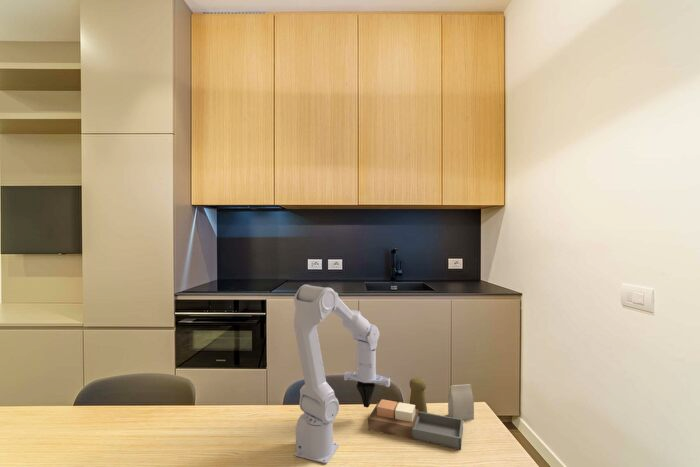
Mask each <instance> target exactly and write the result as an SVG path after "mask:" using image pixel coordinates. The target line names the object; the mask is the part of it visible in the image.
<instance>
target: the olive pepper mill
mask: <svg viewBox="0 0 700 467" xmlns="http://www.w3.org/2000/svg"><path fill="white" fill-rule="evenodd" d="M409 388H410V397H409V404H412V405H415V409H418V410H419V411H420V412H425V413H428V407H427V399H426V393H425V391H426V388H427V382H426V381H425V379H424V378H421V377H416V376H415V377H411V379H410V380H409Z"/></svg>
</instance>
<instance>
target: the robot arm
mask: <svg viewBox="0 0 700 467" xmlns="http://www.w3.org/2000/svg"><path fill="white" fill-rule="evenodd" d="M293 300H294V306H295V311H294V319H293V326H294V332H295V338H296V343H297V349H298V354H299V359H300V365H301V369H302V376H303V381H304V384H303V385H302V386H301V388H300V390H299V395H300V398H299V408H300V410H301V411H302V412H303V413H302V414H300V415H299V417H298V419H297V422H296V426H295V452H294V453H293V454H294V456H295V457H299V458H303V459H307V460H310V461H314V462H318V463H322V464H328V463H329V461H330V459H332V457H333V455H334V454H335V453H336V451H337V449H339V446H340V444H339V443H337V442H334V427H333V426H334V420H335V419H336V418H337V416H338V413H339V410H340V403H339V402H340V401H339V400H338V398H337V397H336V394H335V390H334V389H333V388H332V387H331V386H330V385H329V383H328V382H327V377H326V372H325V368H324V361H323V356H322V350H321V344H320V340H319V333H318V325H319V324H321V323H322V322H323V321H324V320H325V319H326V318H327V316H328V315H329V314H330V313H331V312H333V313H334V314H335V315H336V316H338V317H339V318H340V319H342V324H343V327H345V329H347V330H348V331H349V332H350V333H352V337H353V339H354V340H356V346H357V348H356V350H357V351H356V353H357V355H356V356H357V357H356V358H357V366H356V367H357V368H356V369H357V371H346V372H344V373H343V380H344V381H355V382H357V383H356V389H357V391H358V392H359V394H360V397H361V400H362V404H363V407H364V408H369V407H370V406H371V400H372V396H373V393H374V390H375V387H377V386H376V385H379V386H384V387H386V388H389V387H390V386H391V378H390V377H386V376H382V375H380V374H377V368H376V367H377V358H376V356H377V354H376V352H377V351H376V349H377V348H378V340H379V338H380V334H381V333H380V331H379V328H378V326H377V325H375V324H374V323H370V321H369V320H368V319H367V318H365V317H364V316H363V315H362V313H361V311H360V310H356V309H352V310H351V309H350V308H349V307H348V306H347V305H346V303H344V301H343V300H342V299H341V298H340V297H339V293H338V292H336V291H335V290H334V288H332V287H327V286H326V287H322V286H315V285H311V284H302V286H300V287H299V288H298V290H297V291H296V293H295V295H294V297H293Z"/></svg>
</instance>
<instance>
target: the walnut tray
mask: <svg viewBox="0 0 700 467" xmlns="http://www.w3.org/2000/svg"><path fill="white" fill-rule="evenodd" d="M379 403H380V401H379V402H377V403H376V405H375V406H374V407H373V410H372V411H371V413H370V414H369V416H368V418H367V426H368V427H367V428H368V429H367V430H368V431H372V432H374V433H375V432H376V433H381V434H385V435H390V436H394V437H399V438H404V439H408V440H413V439H412V428H414V426H415V423H416V420H417V418H418V411H419V410H418V409H415V416H414V418H413V421H412V422H410V421H404V420H399V419H395V416H394V418H389V417H384V416H379V415H377V406H378V404H379Z"/></svg>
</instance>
